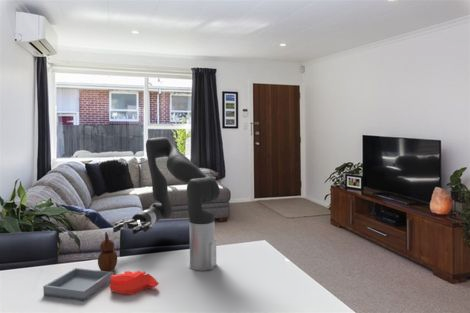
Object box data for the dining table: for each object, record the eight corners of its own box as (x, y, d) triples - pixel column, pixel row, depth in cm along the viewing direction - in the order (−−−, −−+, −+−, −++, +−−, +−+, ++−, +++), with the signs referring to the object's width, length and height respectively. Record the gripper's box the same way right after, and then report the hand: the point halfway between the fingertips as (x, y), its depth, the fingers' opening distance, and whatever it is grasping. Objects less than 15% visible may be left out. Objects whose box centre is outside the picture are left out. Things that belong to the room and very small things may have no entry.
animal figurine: (158, 296, 109) (158, 280, 108) (107, 299, 107) (107, 283, 106) (160, 279, 120) (160, 265, 120) (115, 282, 118) (114, 267, 117)
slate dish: (112, 280, 119) (112, 271, 119) (84, 301, 105) (83, 291, 105) (75, 276, 123) (75, 267, 122) (43, 295, 109) (43, 286, 108)
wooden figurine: (110, 275, 123) (108, 233, 122) (95, 274, 124) (93, 232, 123) (120, 267, 130) (118, 228, 129) (106, 266, 131) (104, 227, 130)
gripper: (129, 210, 154) (107, 220, 138) (159, 212, 151) (139, 223, 135) (129, 226, 155) (108, 238, 139) (159, 229, 151) (140, 241, 136)
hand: (123, 230), depth 137 cm, fingers open, 8 cm apart
